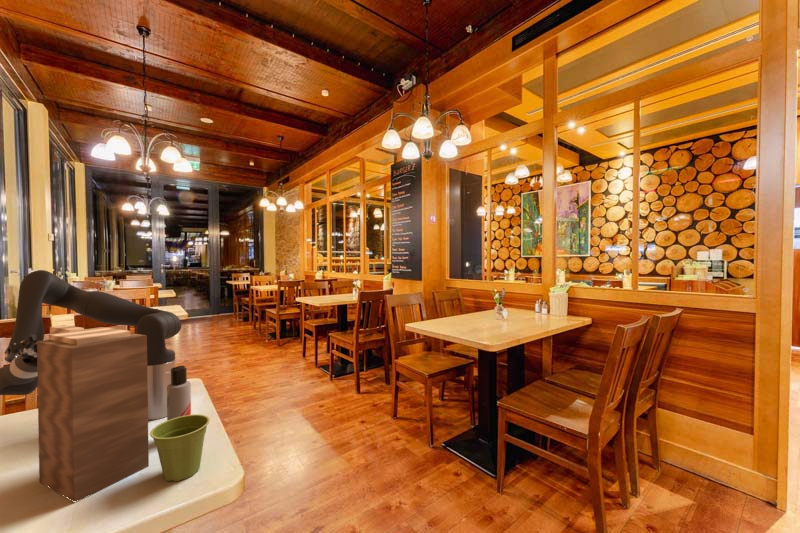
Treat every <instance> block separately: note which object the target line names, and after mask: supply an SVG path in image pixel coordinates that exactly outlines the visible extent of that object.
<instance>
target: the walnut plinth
mask: <svg viewBox="0 0 800 533" xmlns="http://www.w3.org/2000/svg"><path fill="white" fill-rule="evenodd" d="M37 371H38V387H37V411H38V412H37V414H38V415H37V420H38V467H39V468H38V469H39V470H38V472H39V473H38V474H39V478H38V479H39V483H40V484H41V483H42V484H41V485H43V484H45V485H47V486H49V487H50V488H51V489H50V488H49V489H50V490H52V489H53V490H54V492H55V491H56V492H55V493H57V492H58V493H59V495H60V494H61V495H60V496H62V495H64V496H65V497H68V498H69V499H71V500H73V501H77V500H80V499H82V498H84V497H86V496H88V495H90V496H92V495H94V494H97V493H98V492H100V491H102V490H103V489H107V488H108V487H110V486H112V485H114V484H116V483H118V482H120V481H123V480H124V479H127V478H128V477H130V476H132V475H134V474H136V473H139V472H140V471H142V470H144V469H146V468H148V467H149V466H150V463H149V462H150V460H149V456H150V455H149V454H150V453H149V420H148V379H147V335H141V334H136V333H133V332H130V336H127V337H122V338H116V339H110V340H104V341H98V342H93V343H87V344H81V345H74V344H69V343H64V342H58V341H53V340H49V339H44V340H43V341H37ZM45 485H44V486H45ZM53 490H52V491H53ZM58 493H57V494H58ZM91 494H92V495H91ZM65 497H64V498H65ZM88 497H89V496H88ZM86 498H87V497H86ZM84 499H85V498H84ZM82 500H83V499H82ZM80 501H81V500H80Z"/></svg>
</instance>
